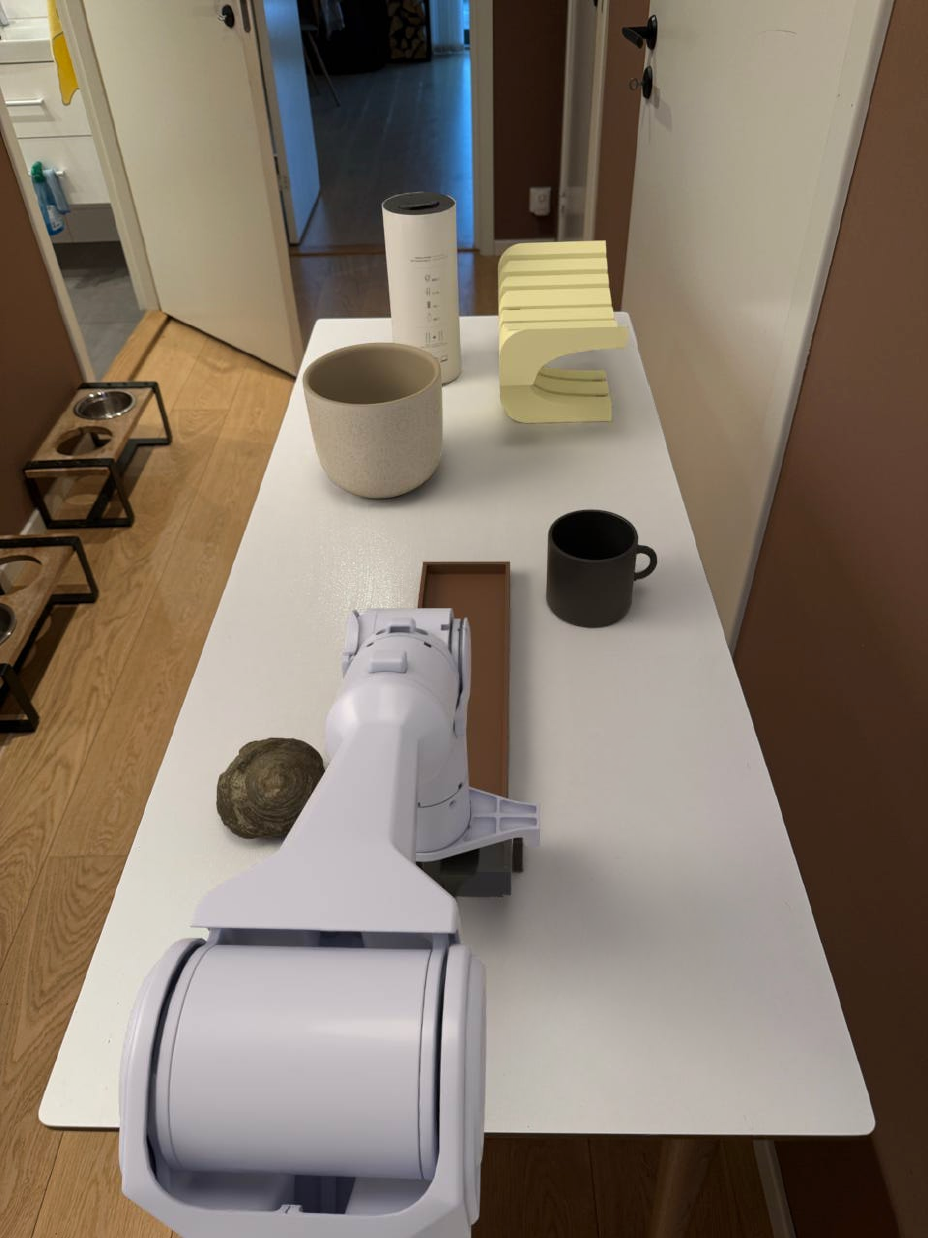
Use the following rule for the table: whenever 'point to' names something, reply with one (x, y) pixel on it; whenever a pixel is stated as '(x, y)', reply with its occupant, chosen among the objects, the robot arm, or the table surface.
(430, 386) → the planter
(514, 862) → the bracket
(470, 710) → the tray
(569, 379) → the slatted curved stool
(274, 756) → the seashell
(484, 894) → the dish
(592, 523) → the mug
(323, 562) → the table surface
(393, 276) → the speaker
